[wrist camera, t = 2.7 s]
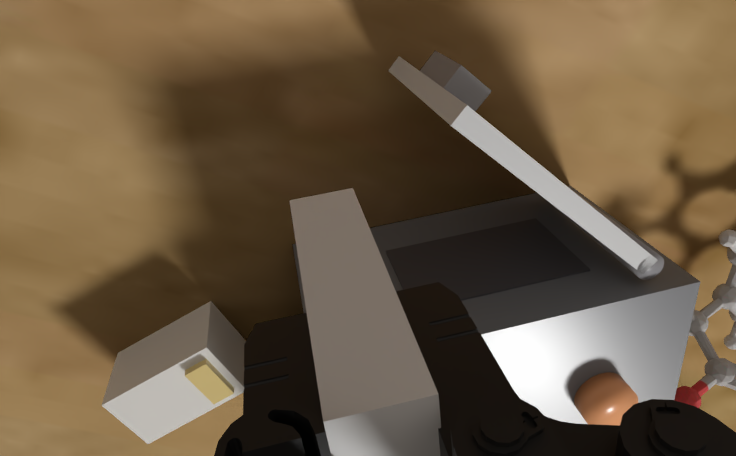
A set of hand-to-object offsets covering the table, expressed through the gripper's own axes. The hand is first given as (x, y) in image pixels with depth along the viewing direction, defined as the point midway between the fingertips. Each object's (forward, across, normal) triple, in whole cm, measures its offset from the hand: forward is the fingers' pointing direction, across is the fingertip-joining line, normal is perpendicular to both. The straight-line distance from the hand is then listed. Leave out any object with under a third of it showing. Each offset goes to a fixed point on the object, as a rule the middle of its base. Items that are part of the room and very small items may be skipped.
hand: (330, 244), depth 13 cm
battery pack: (+14, -9, -13) cm, 21 cm away
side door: (+13, +9, -3) cm, 16 cm away
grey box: (+14, +5, -13) cm, 19 cm away
